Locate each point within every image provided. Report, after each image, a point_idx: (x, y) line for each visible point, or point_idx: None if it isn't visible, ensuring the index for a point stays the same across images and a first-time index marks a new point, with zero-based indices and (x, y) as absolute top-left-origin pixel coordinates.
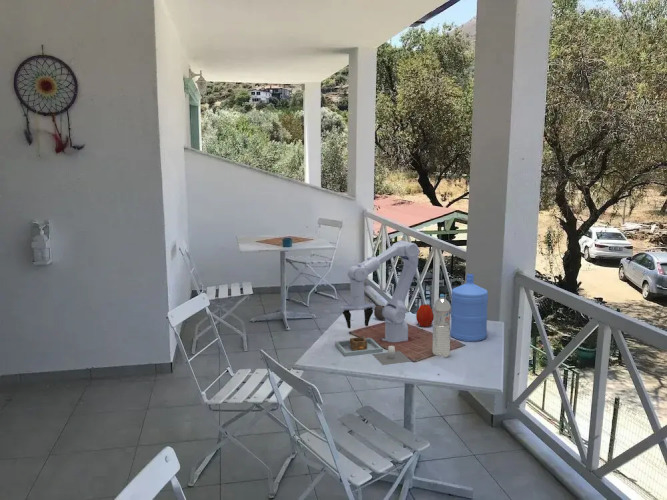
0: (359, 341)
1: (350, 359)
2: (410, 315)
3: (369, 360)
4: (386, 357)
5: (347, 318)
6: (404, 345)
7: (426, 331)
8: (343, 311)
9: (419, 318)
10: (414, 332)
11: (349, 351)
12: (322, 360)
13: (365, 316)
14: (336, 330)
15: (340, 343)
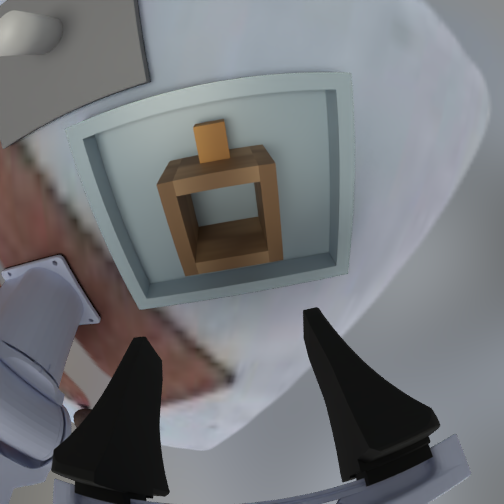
0: (222, 183)
1: (302, 55)
2: None
3: (180, 21)
4: (70, 34)
5: (386, 383)
6: (8, 249)
7: None
8: (440, 448)
9: None
10: None
11: (316, 87)
12: (437, 97)
13: (148, 429)
14: (273, 390)
15: (320, 262)
